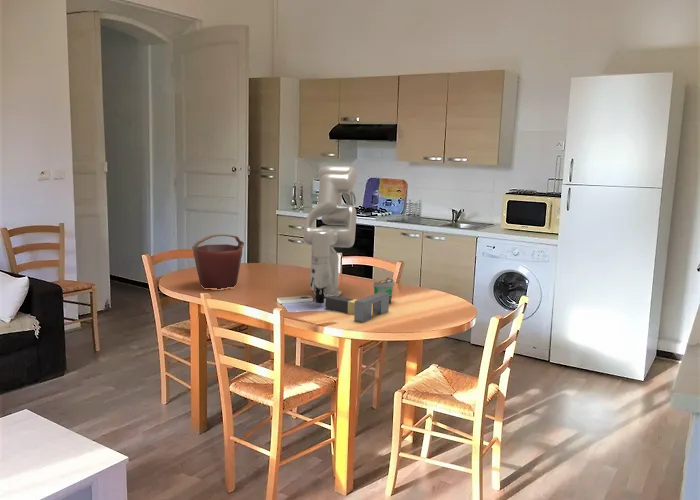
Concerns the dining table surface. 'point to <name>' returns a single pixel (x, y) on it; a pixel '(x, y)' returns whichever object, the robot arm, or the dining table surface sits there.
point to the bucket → (218, 263)
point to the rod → (340, 304)
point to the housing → (365, 306)
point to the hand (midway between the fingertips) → (319, 302)
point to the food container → (384, 287)
